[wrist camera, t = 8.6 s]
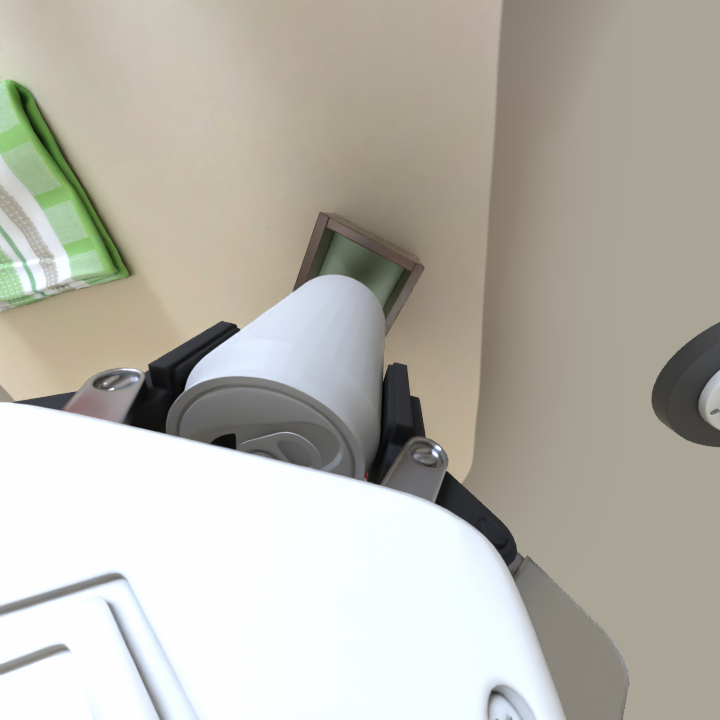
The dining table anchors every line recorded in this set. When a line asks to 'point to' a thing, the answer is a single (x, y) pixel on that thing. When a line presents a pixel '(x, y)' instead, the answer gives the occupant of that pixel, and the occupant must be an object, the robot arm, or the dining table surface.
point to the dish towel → (44, 213)
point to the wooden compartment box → (361, 262)
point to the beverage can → (295, 382)
